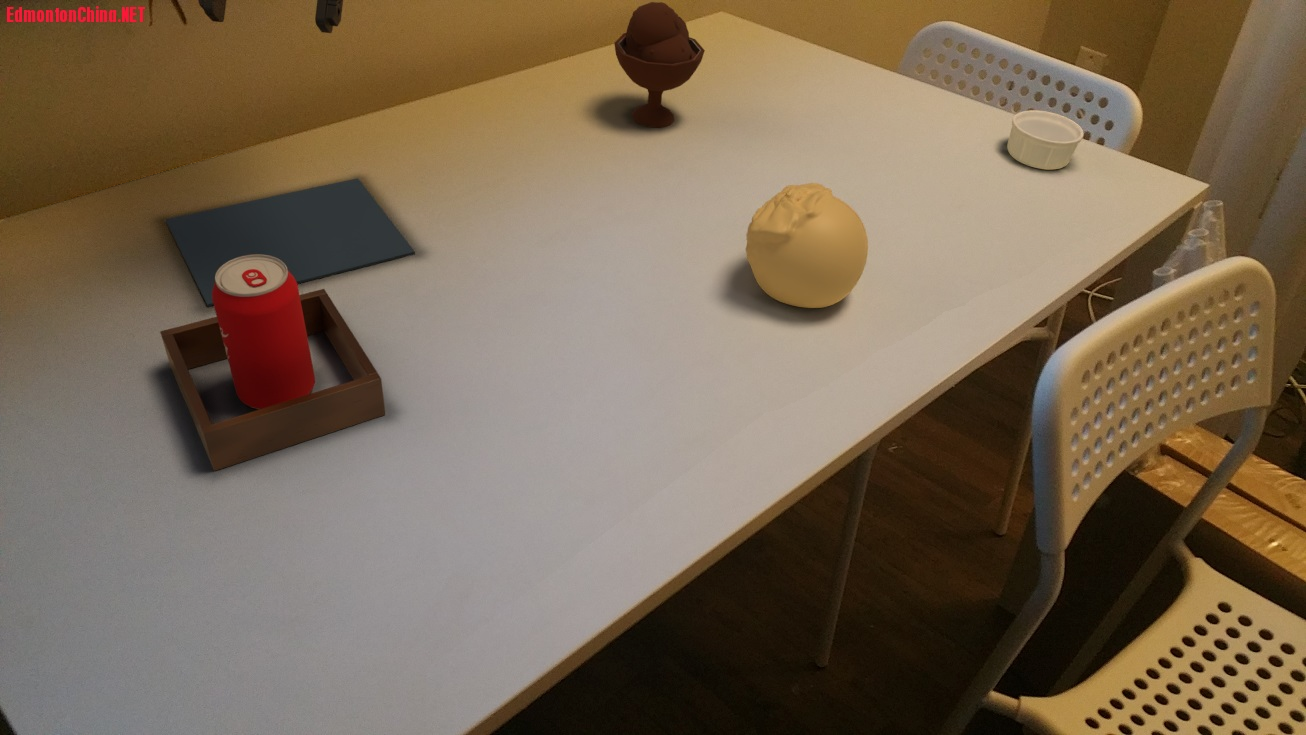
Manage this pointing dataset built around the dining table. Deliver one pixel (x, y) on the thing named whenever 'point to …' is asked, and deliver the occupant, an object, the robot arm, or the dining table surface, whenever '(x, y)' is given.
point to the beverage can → (263, 330)
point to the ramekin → (1043, 139)
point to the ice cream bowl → (657, 58)
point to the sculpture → (807, 246)
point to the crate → (287, 418)
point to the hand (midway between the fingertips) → (268, 23)
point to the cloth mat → (291, 233)
